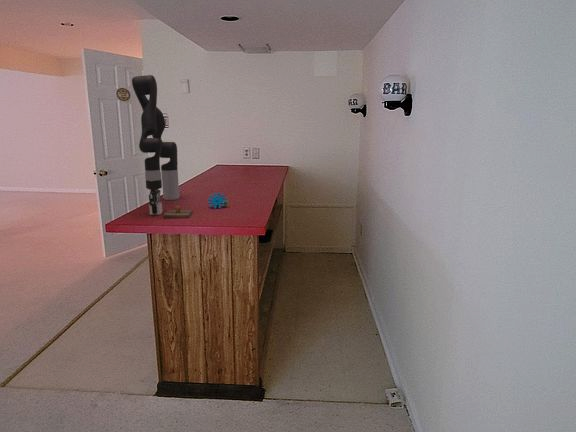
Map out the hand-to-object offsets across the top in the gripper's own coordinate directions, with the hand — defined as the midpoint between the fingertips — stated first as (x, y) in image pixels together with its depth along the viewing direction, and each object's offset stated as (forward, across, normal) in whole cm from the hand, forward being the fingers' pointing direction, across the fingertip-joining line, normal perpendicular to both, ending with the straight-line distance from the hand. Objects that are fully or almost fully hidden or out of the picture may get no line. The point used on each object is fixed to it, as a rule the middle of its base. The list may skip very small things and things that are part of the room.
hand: (156, 212), depth 207 cm
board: (+1, +5, +12) cm, 13 cm away
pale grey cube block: (+1, 0, 0) cm, 1 cm away
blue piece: (+1, -11, +30) cm, 32 cm away
